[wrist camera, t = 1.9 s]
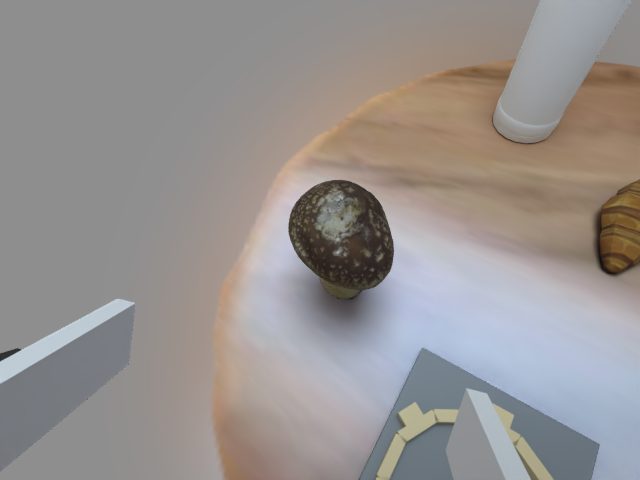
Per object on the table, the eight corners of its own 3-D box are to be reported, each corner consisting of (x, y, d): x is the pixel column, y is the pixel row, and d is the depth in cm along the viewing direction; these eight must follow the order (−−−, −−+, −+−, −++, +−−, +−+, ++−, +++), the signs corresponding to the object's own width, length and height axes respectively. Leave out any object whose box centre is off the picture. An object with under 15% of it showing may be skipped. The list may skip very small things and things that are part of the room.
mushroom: (309, 249, 45) (291, 166, 32) (383, 252, 44) (395, 166, 31) (301, 328, 40) (276, 268, 27) (384, 332, 40) (398, 272, 27)
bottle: (481, 129, 52) (606, -196, 26) (506, 95, 55) (641, -229, 29) (539, 153, 49) (745, -185, 23) (562, 116, 52) (769, -222, 26)
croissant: (640, 292, 40) (675, 272, 35) (573, 260, 42) (598, 238, 38) (670, 201, 45) (704, 174, 40) (608, 177, 47) (634, 149, 43)
